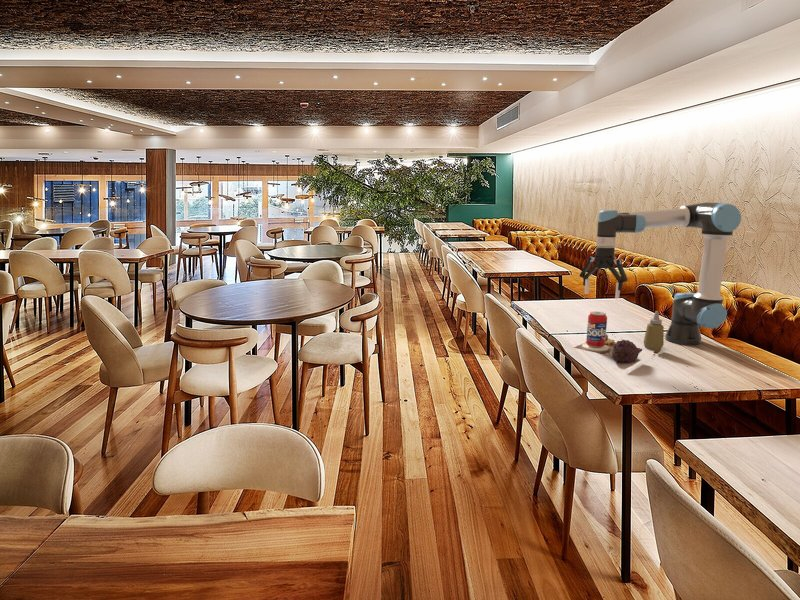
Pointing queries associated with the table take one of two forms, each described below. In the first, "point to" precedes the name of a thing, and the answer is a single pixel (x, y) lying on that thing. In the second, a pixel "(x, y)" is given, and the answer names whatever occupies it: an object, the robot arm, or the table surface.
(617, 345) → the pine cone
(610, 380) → the table surface
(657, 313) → the squeeze bottle
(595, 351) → the gear board
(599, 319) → the soda can
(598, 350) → the ceramic plate
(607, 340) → the brass gear
